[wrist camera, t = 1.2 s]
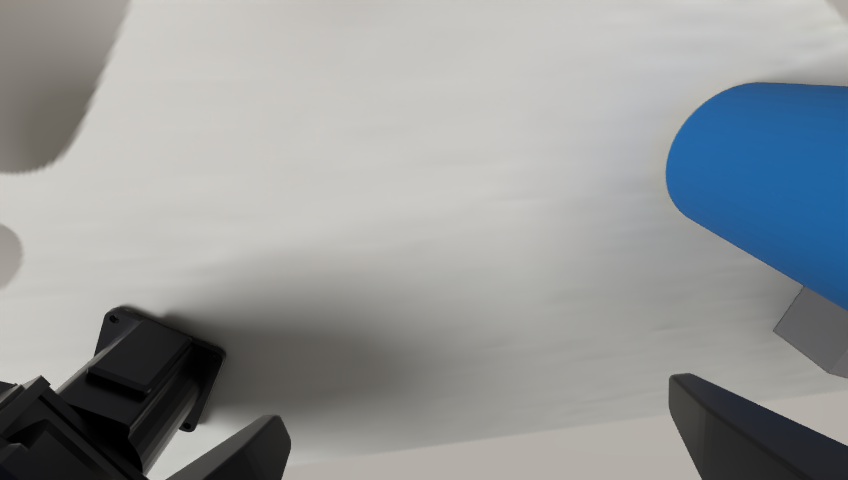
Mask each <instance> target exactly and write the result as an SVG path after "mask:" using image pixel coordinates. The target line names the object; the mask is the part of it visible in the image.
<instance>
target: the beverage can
mask: <svg viewBox="0 0 848 480" xmlns="http://www.w3.org/2000/svg"><path fill="white" fill-rule="evenodd" d="M665 176H666V185H667V189H668V192H669V195H670V197H671V199H672V201H673V203H674V204H675V206H676V207H677V208H678V209H679V211H681V212H682V213H683V214H684V215H685V216H686V217H688V218H690V219H691V220H693V221H694V222H696V223H698V224H700V225H701V226H703V227H705V228H706V229H708V230H710V231H712V232H713V233H715V234H717V235H718V236H720V237H722V238H724V239H725V240H727V241H729V242H730V243H732V244H734V245H735V246H737V247H739V248H741V249H742V250H744V251H746V252H747V253H749V254H751V255H753V256H754V257H756V258H758V259H759V260H761V261H763V262H765V263H766V264H768V265H770V266H771V267H773V268H775V269H776V270H778V271H780V272H782V273H783V274H785V275H787V276H788V277H790V278H792V279H794V280H795V281H797V282H799V283H800V284H802V285H804V286H805V287H807V288H809V289H811V290H812V291H814V292H816V293H817V294H819V295H821V296H823V297H824V298H826V299H828V300H829V301H831V302H833V303H835V304H836V305H838V306H840V307H841V308H843V309H845V310H846V311H848V87H845V86H825V85H805V84H784V83H749V84H743V85H740V86H736V87H733V88H730V89H728V90H725V91H723V92H721V93H719V94H717V95H715V96H714V97H712V98H711V99H709V100H708V101H706V102H705V103H703V104H702V105H701V106H700V107H699V108H697V109H696V110H695V111H694V112H693V113H692V114H691V115H690V116H689V117H688V119H687V120H686V121H685V122H684V124H683V125H682V126H681V128H680V129H679V131H678V133H677V134H676V136H675V138H674V140H673V142H672V144H671V147H670V150H669V153H668V156H667V161H666V170H665Z"/></svg>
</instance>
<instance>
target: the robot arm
mask: <svg viewBox="0 0 848 480" xmlns="http://www.w3.org/2000/svg"><path fill="white" fill-rule="evenodd" d="M115 316H116V317H118V319H117V318H116V317H115ZM213 355H215V356H217V357H218V358H216V357H214V356H213ZM225 358H226V353H225V351H224V350H223V349H221V348H219V347H217V346H214V345H212V344H209V343H207V342H204V341H202V340H199V339H197V338H194V337H192V336H189V335H187V334H184V333H182V332H179V331H177V330H174V329H172V328H169V327H167V326H164V325H162V324H159V323H157V322H154V321H152V320H149V319H147V318H144V317H142V316H139V315H137V314H134V313H132V312H129V311H127V310H124V309H122V308H118V307H117V308H113V309H111V310H110V311H109V312H107V313H106V314H105V317H104V320H103V324H102V328H101V331H100V335H99V339H98V342H97V346H96V350H95V354H94V357H93V359H91V360H90V361H89V362H88V363H87V364H86V365H85V366H83V367H82V368H81V369H80V370H79V371H78V372H76V373H75V374H74V375H73V376H72V377H71V378H70V379H68V380H67V381H66V382H65V383H64V384H63V385H62V386H60V387H59V388H58V389H57V390H56V391H53V390H52V389H51V388H50V387H49V386H50V383H49V382H48V381H47V380H46V379H45V378H44V377H42V376H41V375H40V376H38V377H37V378H35V379H33V380H31V381H29V382H27V383H25V384H23V385H21V384H20V385H17V384H16V383H15V384H10V383H6V382H1V381H0V480H149V479H148V478H147V477H146V475H147V474H148V472H149V471H150V470H151V468H152V467H153V465H154V464H155V462H156V461H157V459H158V458H159V457H160V455H161V454H162V452H163V451H164V449H165V448H166V446H167V445H168V443H169V442H170V441H171V439H172V438H173V436H174V435H175V433H176V432H177V430H178V429H179V430H182V431H185V432H192V431H194V430H195V428H196V427H197V425H198V424H199V421H200V419H201V416H202V414H203V412H204V409H205V407H206V404H207V402H208V399H209V397H210V395H211V392H212V390H213V387H214V385H215V382H216V380H217V378H218V375H219V373H220V370H221V368H222V365H223V363H224V361H225ZM669 409H670V413H671V416H672V418H673V420H674V422H675V425H676V427H677V429H678V430H679V433H680V435H681V437H682V439H683V441H684V443H685V446H686V447H687V450H688V452H689V454H690V456H691V458H692V460H693V462H694V464H695V466H696V468H697V470H698V472H699V474H700V476H701V478H702V480H848V446H846V445H844V444H842V443H840V442H837V441H836V440H833V439H831V438H829V437H827V436H825V435H823V434H820V433H818V432H816V431H814V430H812V429H810V428H808V427H805V426H803V425H801V424H799V423H797V422H794V421H792V420H790V419H788V418H786V417H784V416H782V415H779V414H777V413H775V412H773V411H771V410H769V409H767V408H764V407H762V406H760V405H758V404H756V403H754V402H752V401H749V400H747V399H745V398H743V397H741V396H739V395H736V394H734V393H732V392H730V391H728V390H726V389H723V388H721V387H719V386H717V385H715V384H713V383H711V382H708V381H706V380H704V379H702V378H700V377H698V376H695V375H693V374H690V373H684V374H674V375H671V376H670V378H669ZM290 449H291V439H290V436H289V434H288V432H287V430H286V427H285V425H284V423H283V421H282V419H281V417H280V416H279V415H266V416H262V417H260V418H259V419H257V420H256V421H254V422H253V423H251V424H250V425H248V426H247V427H245V428H244V429H242V430H241V431H239V432H238V433H236V434H235V435H233V436H231V437H230V438H228V439H227V440H225V441H224V442H222V443H221V444H219V445H218V446H216V447H215V448H213V449H212V450H210V451H209V452H207V453H206V454H204V455H202V456H201V457H199V458H198V459H196V460H195V461H193V462H192V463H190V464H189V465H187V466H186V467H184V468H183V469H181V470H180V471H178V472H177V473H175V474H174V475H172V476H170V477H169V478H167V479H166V480H281V479H282V476H283V472H284V469H285V466H286V463H287V460H288V456H289V453H290Z"/></svg>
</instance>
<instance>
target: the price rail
mask: <svg viewBox="0 0 848 480" xmlns="http://www.w3.org/2000/svg"><path fill="white" fill-rule="evenodd" d="M774 332H775V333H776V334H778V335H779V336H780V337H782V338H783V339H784V340H786V341H787V342H788V343H789V344H791V345H792V346H793V347H795V348H796V349H797V350H799V351H800V352H801V353H802V354H804V355H805V356H806V357H808V358H809V359H810V360H812V361H813V362H814V363H815V364H817V365H818V366H819V367H821V368H822V369H823V370H825V371H826V372H827V373H829V374H833V375H837V376H840V377H844V378H848V311H846V310H845V309H843V308H841V307H840V306H838V305H836V304H835V303H833V302H831V301H829V300H828V299H826V298H824V297H823V296H821V295H819V294H817V293H816V292H814V291H812V290H811V289H809V288H807V287H804V288H803V289H802V291H801V292H800V294H799V295H798V296H797V298H796V299H795V301H794V302H793V304H792V305H791V306H790V308H789V309H788V311H787V312H786V314H785V315H784V316H783V318H782V319H781V321H780V322H779V323H778V325H777V326H776V328H775V329H774Z"/></svg>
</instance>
